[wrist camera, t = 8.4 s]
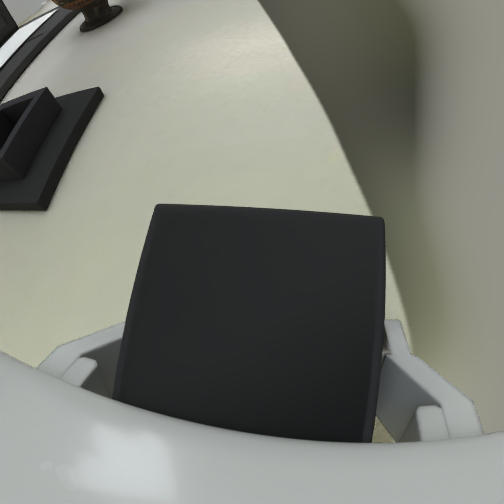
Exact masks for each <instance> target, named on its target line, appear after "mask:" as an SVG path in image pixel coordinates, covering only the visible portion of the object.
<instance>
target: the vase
mask: <svg viewBox="0 0 504 504" xmlns="http://www.w3.org/2000/svg"><path fill="white" fill-rule="evenodd" d="M52 1H53V2H54V3H55V4H57V5H58V6H60V7H62V8H64V9H68V10H81V12H82V13H83V15H84V17H85V20H86V21H84V22H83V23H82V25H81V26H80V31H81V32H84V31H88V30H91V29H94V28H96V27H98V26H100V25H102V24H104V23H106V22H108V21H110V20H111V19H113V18H114V17H116V16H117V15H118V14H120V13H121V12H122V10H123V8H122V7H121V6H116V5H115V6H111V7H110V6H109V4H108V0H52Z"/></svg>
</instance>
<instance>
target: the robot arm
mask: <svg viewBox="0 0 504 504" xmlns="http://www.w3.org/2000/svg"><path fill="white" fill-rule="evenodd" d="M124 326H125V322H122V323H119V324H117V325H114V326H111V327H109V328H106V329H103V330H101V331H98V332H95V333H93V334H90V335H87V336H85V337H82V338H79V339H76V340H74V341H71V342H68V343H66V344H63V345H60V346H58V347H57V348H56V349H55V350H54V351H53V352H52V353H51V354H50V355H49V356H48V357H47V358H46V359H45V360H44V361H43V362H42V363H41V364H40V365H39V366H38V367H37V368H34V367H32V366H30V365H28V364H26V363H24V362H22V361H20V360H18V359H16V358H14V357H12V356H10V355H8V354H6V353H4V352H3V351H1V350H0V504H504V431H499V432H493V433H488V434H484V432H483V428H482V425H481V422H480V419H479V417H478V413H477V410H476V408H475V405H474V402H473V401H472V400H471V399H470V398H468V397H467V396H466V395H465V394H463V393H462V392H461V391H460V390H458V389H457V388H456V387H455V386H453V385H452V384H451V383H450V382H449V381H447V380H446V379H445V378H444V377H442V376H441V375H440V374H439V373H437V372H436V371H435V370H434V369H432V368H431V367H430V366H428V365H427V364H426V363H425V362H423V361H422V360H421V359H420V358H418V357H417V356H416V355H411V353H410V350H409V347H408V343H407V340H406V337H405V334H404V331H403V328H402V325H401V322H400V320H398V319H385V321H384V339H383V353H382V365H381V375H380V385H379V394H378V402H377V409H376V416H377V417H378V419H379V420H380V422H381V423H382V424H383V426H384V427H385V428H386V430H387V431H388V432H389V434H390V435H391V436H392V438H393V439H394V441H395V442H396V443H348V442H327V441H313V440H301V439H291V438H282V437H274V436H267V435H259V434H253V433H246V432H240V431H235V430H229V429H224V428H218V427H213V426H209V425H204V424H199V423H195V422H191V421H186V420H182V419H178V418H174V417H170V416H166V415H163V414H159V413H155V412H152V411H148V410H145V409H142V408H138V407H135V406H132V405H129V404H126V403H122V402H119V401H116V400H113V399H112V394H113V387H114V381H115V375H116V369H117V363H118V357H119V352H120V347H121V341H122V336H123V331H124Z"/></svg>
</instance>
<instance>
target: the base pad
mask: <svg viewBox="0 0 504 504" xmlns="http://www.w3.org/2000/svg"><path fill="white" fill-rule="evenodd" d="M103 96H104V94H103V92H102V91H101V89H100V87H95V88H90V89H86V90H82V91H78V92H74V93H71V94H67V95H63V96H60V97H56V98H54V96H53V95H52V93H51V92H50V91H49V89H48V88H47V87H45V88H42V89H40V90H36V91H34V92H31V93H28V94H26V95H23V96H20V97H18V98H15V99H13V100H10V101H8V102H6V103H3V104H1V105H0V210H47V207H48V205H49V203H50V200H51V198H52V195H53V193H54V191H55V188H56V186H57V184H58V182H59V179H60V177H61V175H62V173H63V171H64V168H65V166H66V164H67V162H68V160H69V158H70V156H71V154H72V152H73V150H74V148H75V146H76V144H77V142H78V140H79V138H80V137H81V135H82V133H83V131H84V129H85V127H86V125H87V124H88V122H89V120H90V118H91V117H92V115H93V113H94V111H95V110H96V108H97V106H98V105H99V103H100V101H101V100H102V98H103Z"/></svg>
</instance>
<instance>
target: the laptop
mask: <svg viewBox="0 0 504 504" xmlns="http://www.w3.org/2000/svg"><path fill="white" fill-rule="evenodd" d="M80 11H81V10H68V9H64V8H62V7H60V6H58V7H56V8H54V9H52V10H50V11H48V12H46V13H44V14H42V15H40V16H38V17H36V18H34V19H33V20H31V21H29V22H27V23H25V24H24V25H22V26H20V27H19V28H18V26H17V24H16V22H15V21H14V19H13V18H12V16H11V14H10V13H9V11H8V9H7V8H6V6H5V4H4V3H3V1H2V0H0V101H1V99H2V98H3V96H4V95H5V94H6V92H7V91H8V90H9V88H10V87H11V86H12V84H13V83H14V82H15V81H16V79H17V78H18V77H19V76H20V74H21V73H22V72H23V71H24V69H25V68H26V67H27V66H28V65H29V63H30V62H31V61H32V60H33V59H34V58H35V56H36V55H37V54H38V53H39V52H40V51H41V50H42V49H43V47H44V46H45V45H46V44H47V43H48V42H49V41H50V40H51V39H52V38H53V37H54V36H55V35H56V34H57V33H58V32H59V31H60V30H61V29H62V28H63V27H64V26H65V25H66V24H67V23H68V22H69V21H70V20H71V19H72V18H73V17H74V16H75V15H76V14H77V13H79V12H80Z"/></svg>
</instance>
